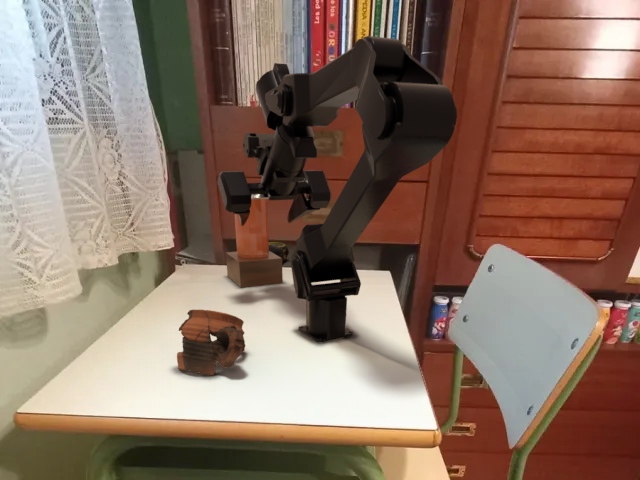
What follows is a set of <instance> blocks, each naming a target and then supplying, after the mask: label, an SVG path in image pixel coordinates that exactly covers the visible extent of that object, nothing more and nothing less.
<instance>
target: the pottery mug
mask: <svg viewBox="0 0 640 480" xmlns="http://www.w3.org/2000/svg"><path fill="white" fill-rule="evenodd" d="M187 315H188V318H187V319H185V320H184V322H182V323H181V324H180V326H179V328H178V331H179V332H180V333H181V334H180V335H181V336H182V341H181V342H182V351H178V352H177V353H176V361H177V369H178V370H182V371H189V372H191V373H195V374H202V375H208V376H214V375H215V371H216V366H217V363H218V365H220V367H222V368H224V369H228V368H231V367H232V366H234V365H235V363H236V361H237V359H238V358H239V357H240V355H241V354H242V353H244V352H245V349H246V341H245V337H244V335H245V331H244V330H243V325H244V323H245V321H244V320H243V319H241V318H240V317H238V316H235V315H232V314H229V313H226V312H221V311H217V310H211V309H189V310H188V312H187ZM212 337H216V339H215V340H212Z"/></svg>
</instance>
